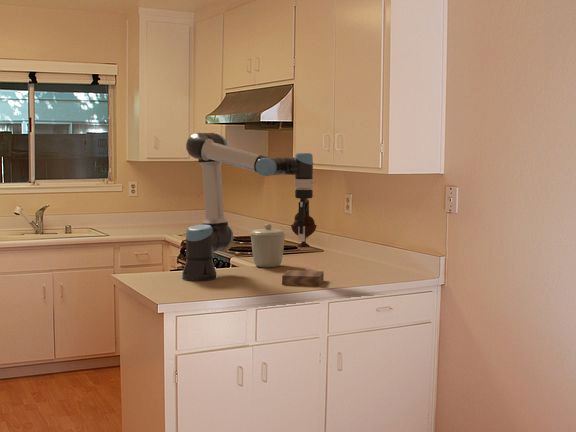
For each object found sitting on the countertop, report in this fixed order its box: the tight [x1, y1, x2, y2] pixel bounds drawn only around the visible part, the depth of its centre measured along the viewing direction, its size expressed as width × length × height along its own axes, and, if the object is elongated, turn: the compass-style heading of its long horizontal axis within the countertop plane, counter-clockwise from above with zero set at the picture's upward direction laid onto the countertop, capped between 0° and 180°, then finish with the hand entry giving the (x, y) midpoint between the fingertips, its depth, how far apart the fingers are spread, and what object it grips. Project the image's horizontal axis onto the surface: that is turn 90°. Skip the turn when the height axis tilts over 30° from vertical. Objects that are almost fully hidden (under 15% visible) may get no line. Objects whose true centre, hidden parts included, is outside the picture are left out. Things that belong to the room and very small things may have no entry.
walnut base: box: [281, 269, 325, 287], centre depth 335 cm, size 16×14×4 cm
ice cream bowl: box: [290, 212, 318, 248], centre depth 333 cm, size 11×11×15 cm
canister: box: [249, 223, 287, 268], centre depth 378 cm, size 18×18×21 cm
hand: (303, 239), depth 333 cm, fingers closed on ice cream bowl, 11 cm apart
